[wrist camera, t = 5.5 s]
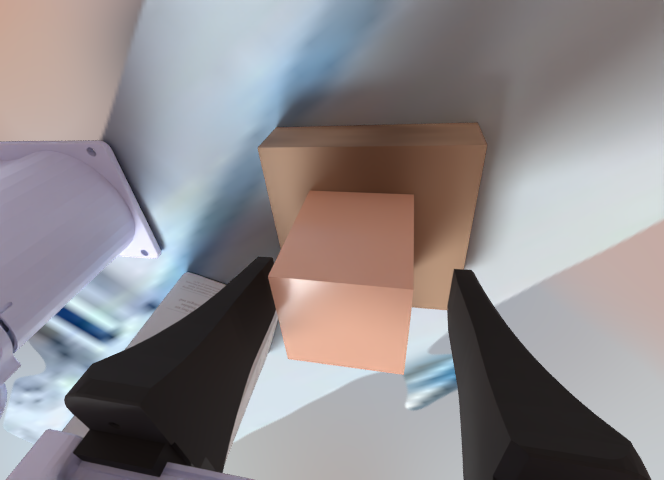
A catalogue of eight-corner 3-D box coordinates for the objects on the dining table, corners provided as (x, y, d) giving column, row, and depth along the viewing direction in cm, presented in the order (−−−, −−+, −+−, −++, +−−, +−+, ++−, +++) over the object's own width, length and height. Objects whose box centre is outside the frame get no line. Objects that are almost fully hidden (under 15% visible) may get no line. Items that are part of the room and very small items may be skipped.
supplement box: (184, 267, 24) (20, 473, 14) (284, 303, 24) (194, 530, 14) (183, 327, 28) (59, 514, 18) (267, 356, 29) (190, 556, 19)
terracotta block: (318, 266, 18) (288, 358, 14) (309, 190, 15) (267, 276, 11) (406, 273, 17) (403, 374, 13) (414, 194, 14) (413, 289, 10)
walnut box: (304, 263, 22) (291, 297, 20) (279, 123, 17) (257, 147, 14) (450, 272, 20) (455, 310, 18) (475, 118, 15) (487, 145, 12)
